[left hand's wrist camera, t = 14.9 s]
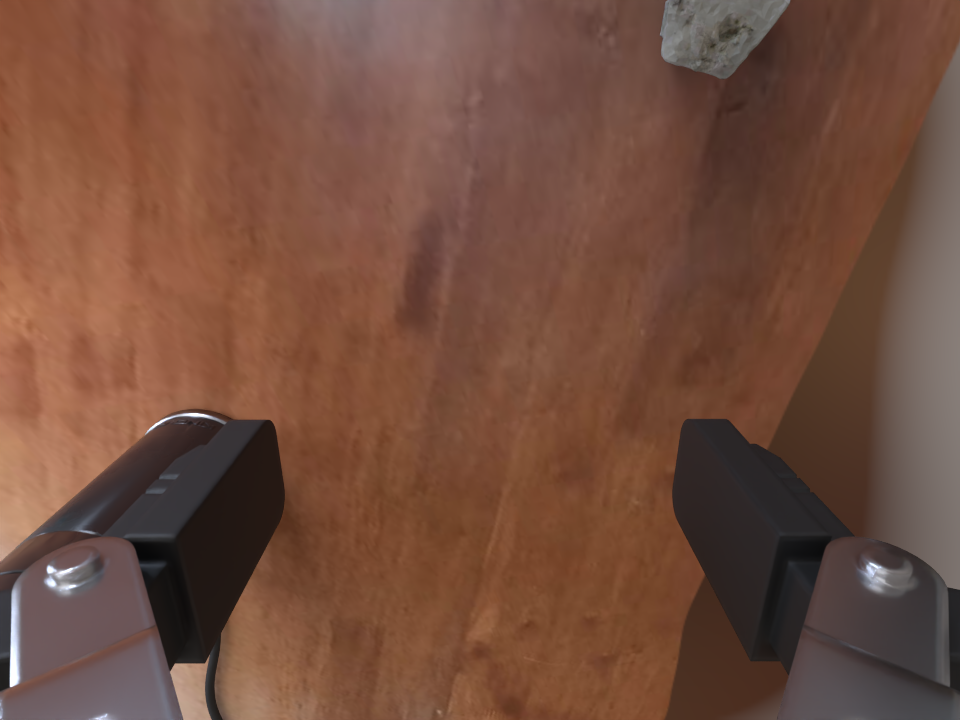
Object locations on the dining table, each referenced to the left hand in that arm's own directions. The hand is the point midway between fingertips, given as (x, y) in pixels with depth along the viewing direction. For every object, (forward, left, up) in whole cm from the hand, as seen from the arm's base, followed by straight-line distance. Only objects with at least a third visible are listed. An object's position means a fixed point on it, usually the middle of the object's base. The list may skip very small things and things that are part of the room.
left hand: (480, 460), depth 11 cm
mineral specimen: (+12, -12, -29) cm, 34 cm away
